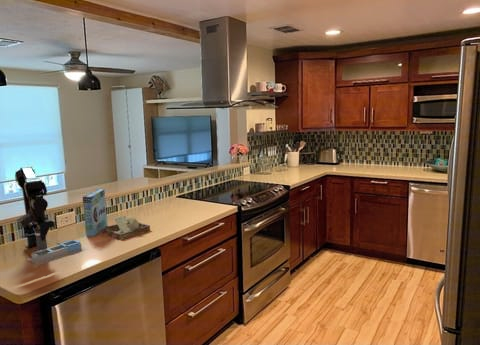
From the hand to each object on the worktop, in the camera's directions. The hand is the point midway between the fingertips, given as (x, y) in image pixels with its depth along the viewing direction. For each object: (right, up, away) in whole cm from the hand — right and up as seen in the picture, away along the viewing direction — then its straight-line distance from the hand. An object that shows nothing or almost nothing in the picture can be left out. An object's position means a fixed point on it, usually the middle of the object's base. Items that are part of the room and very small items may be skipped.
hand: (41, 239), depth 169 cm
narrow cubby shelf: (+4, -9, +7) cm, 12 cm away
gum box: (+9, -3, +43) cm, 44 cm away
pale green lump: (+27, -3, +39) cm, 47 cm away
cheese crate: (+27, -3, +40) cm, 48 cm away
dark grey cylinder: (0, -5, +1) cm, 4 cm away
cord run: (0, -7, +19) cm, 20 cm away
